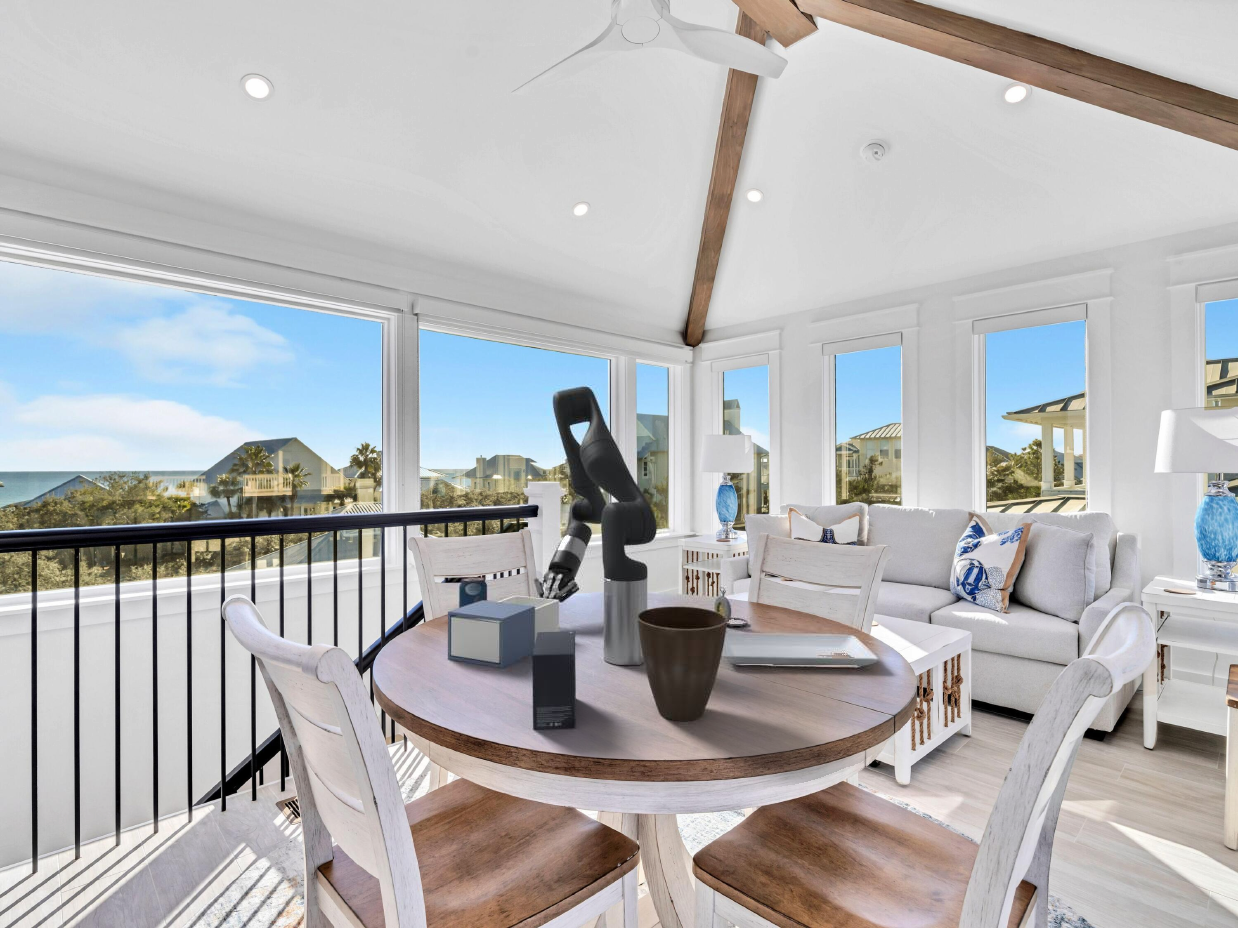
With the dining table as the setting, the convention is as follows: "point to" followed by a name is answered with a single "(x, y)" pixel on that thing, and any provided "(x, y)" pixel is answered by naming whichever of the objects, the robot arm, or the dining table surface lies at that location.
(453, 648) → the tray
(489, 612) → the mailer sleeve
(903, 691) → the dining table surface
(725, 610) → the pocket watch
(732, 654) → the tray
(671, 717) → the plant pot
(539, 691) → the small box
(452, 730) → the dining table surface
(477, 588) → the soda can
